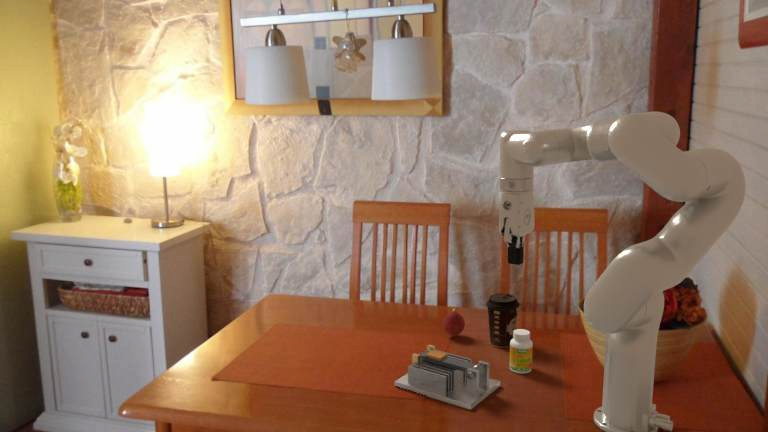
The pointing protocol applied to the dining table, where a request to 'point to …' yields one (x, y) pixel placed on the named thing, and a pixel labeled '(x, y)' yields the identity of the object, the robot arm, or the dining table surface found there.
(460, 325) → the onion
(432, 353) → the strap
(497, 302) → the coffee cup
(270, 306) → the dining table surface
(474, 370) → the heatsink base
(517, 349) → the supplement bottle
